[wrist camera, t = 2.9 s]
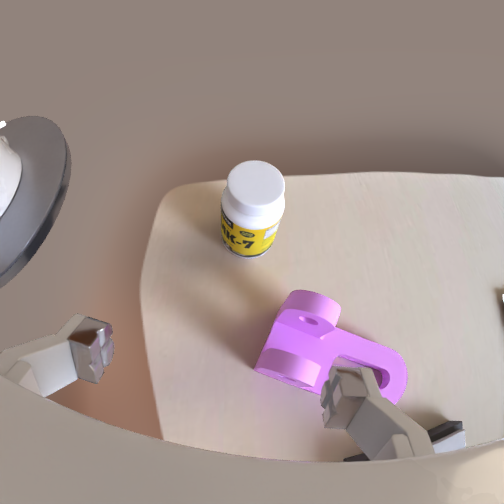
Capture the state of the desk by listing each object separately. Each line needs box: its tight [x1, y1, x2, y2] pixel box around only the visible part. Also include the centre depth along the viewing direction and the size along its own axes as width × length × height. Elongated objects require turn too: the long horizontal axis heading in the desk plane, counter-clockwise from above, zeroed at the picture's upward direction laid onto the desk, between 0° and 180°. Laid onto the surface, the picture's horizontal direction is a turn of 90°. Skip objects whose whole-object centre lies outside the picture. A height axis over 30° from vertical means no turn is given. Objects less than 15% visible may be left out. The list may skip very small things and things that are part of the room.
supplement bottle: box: [221, 161, 285, 259], centre depth 25 cm, size 5×5×8 cm
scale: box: [344, 421, 465, 462], centre depth 18 cm, size 12×12×3 cm
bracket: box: [254, 290, 408, 404], centre depth 21 cm, size 13×6×7 cm, turn 67°
